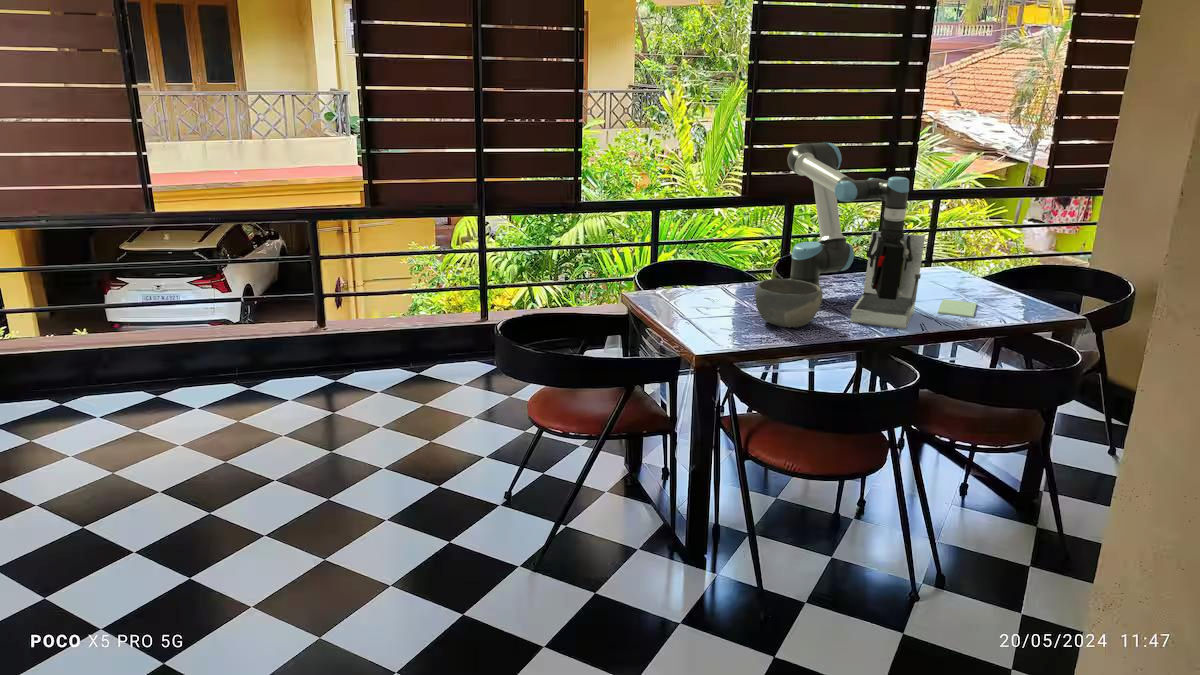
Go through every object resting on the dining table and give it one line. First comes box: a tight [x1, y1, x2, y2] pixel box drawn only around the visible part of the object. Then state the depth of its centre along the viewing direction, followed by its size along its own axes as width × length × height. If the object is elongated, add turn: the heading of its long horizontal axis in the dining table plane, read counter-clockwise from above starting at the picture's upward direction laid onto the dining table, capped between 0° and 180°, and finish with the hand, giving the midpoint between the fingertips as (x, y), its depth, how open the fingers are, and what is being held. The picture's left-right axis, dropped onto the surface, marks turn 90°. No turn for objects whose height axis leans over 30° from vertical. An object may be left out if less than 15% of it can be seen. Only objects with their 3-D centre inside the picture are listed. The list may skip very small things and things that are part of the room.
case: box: [850, 230, 926, 330], centre depth 325 cm, size 20×31×30 cm, turn 154°
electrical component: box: [871, 237, 909, 300], centre depth 321 cm, size 18×10×20 cm, turn 168°
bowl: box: [754, 278, 823, 329], centre depth 315 cm, size 24×24×15 cm
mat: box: [937, 298, 978, 318], centre depth 339 cm, size 13×21×1 cm, turn 154°
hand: (886, 277), depth 323 cm, fingers open, 9 cm apart
